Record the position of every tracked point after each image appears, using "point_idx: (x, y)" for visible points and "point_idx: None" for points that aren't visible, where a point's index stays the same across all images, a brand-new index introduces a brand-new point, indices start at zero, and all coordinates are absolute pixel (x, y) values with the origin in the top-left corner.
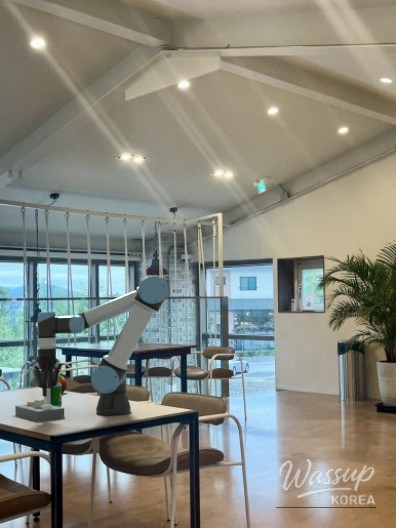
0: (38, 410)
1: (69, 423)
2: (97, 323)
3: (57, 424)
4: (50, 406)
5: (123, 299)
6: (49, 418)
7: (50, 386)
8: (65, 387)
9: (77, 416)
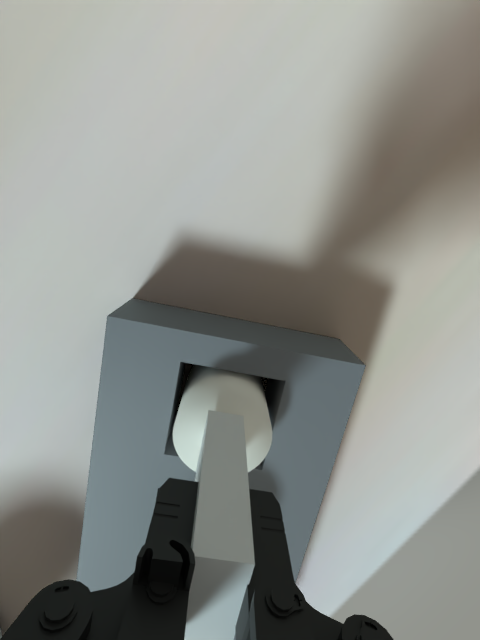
0: (324, 407)
1: (279, 38)
2: None
3: (362, 97)
4: (221, 387)
5: None
6: (254, 324)
7: (179, 599)
8: None
9: (26, 260)
